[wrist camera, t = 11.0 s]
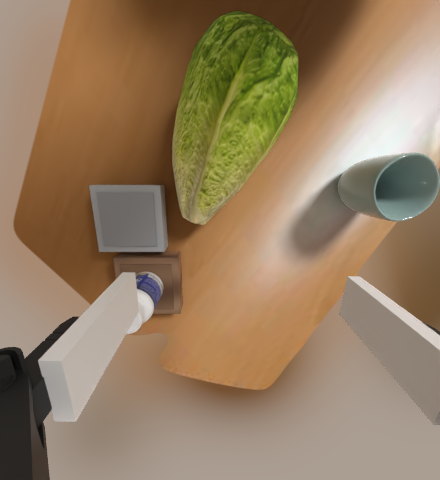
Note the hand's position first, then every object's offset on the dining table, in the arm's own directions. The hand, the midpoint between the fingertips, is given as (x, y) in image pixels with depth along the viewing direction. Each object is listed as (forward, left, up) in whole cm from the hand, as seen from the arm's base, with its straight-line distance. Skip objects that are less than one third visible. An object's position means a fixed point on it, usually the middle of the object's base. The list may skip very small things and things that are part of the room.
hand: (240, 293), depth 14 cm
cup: (-6, +20, -24) cm, 32 cm away
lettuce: (-12, -1, -24) cm, 26 cm away
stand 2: (+10, -13, -23) cm, 28 cm away
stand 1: (-1, -15, -23) cm, 27 cm away
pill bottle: (+10, -13, -20) cm, 26 cm away
